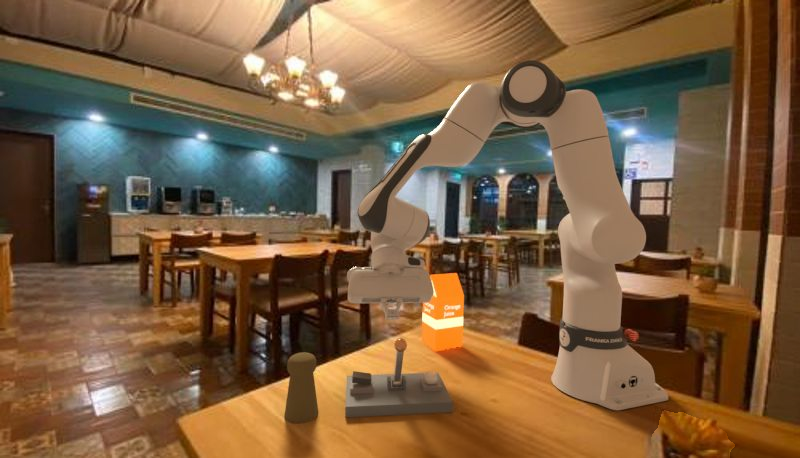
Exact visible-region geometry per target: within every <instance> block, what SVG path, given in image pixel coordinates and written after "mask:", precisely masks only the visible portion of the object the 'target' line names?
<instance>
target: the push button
mask: <svg viewBox="0 0 800 458" xmlns="http://www.w3.org/2000/svg"><path fill="white" fill-rule="evenodd" d="M424 373H425V379H424V381H425V383H427V384H436V383H437V372H434V371H425V372H424Z"/></svg>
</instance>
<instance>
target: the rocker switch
mask: <svg viewBox="0 0 800 458" xmlns="http://www.w3.org/2000/svg"><path fill="white" fill-rule="evenodd" d="M371 375H372V373H368V372H364V371H362V372H361V371H354V370H353V371H352V375H351V376H352V383H357V384H365V385H370V384H371Z"/></svg>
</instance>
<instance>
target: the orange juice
mask: <svg viewBox="0 0 800 458" xmlns="http://www.w3.org/2000/svg"><path fill="white" fill-rule="evenodd" d="M430 278H431V281H432V285H433V291H434V294H433V298H432V300H431V301H430V302H429V303H422V312H421V313H422V315H421V318H422V319H421V322H422V324H421V325H422V327H421V342H422V343H423V344H424V343H425V344H424V345H426V346H427V347H428V346H429V347H428V348H429V349H431V350H432V351H433V352H440V351H445V349H447V350H451V349H450V348H453V349H457V348H456V347H459V348H462V347H463V340H464V339H463V338H464V337H463V334H464V332H463V331H464V308H465V305H464V304H465V294H464V291H463V288H462V285H461V282H460V279H459V275H458V273H457V272H453V273H452V272H451V273H435V274H430ZM461 346H462V347H461Z"/></svg>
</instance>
